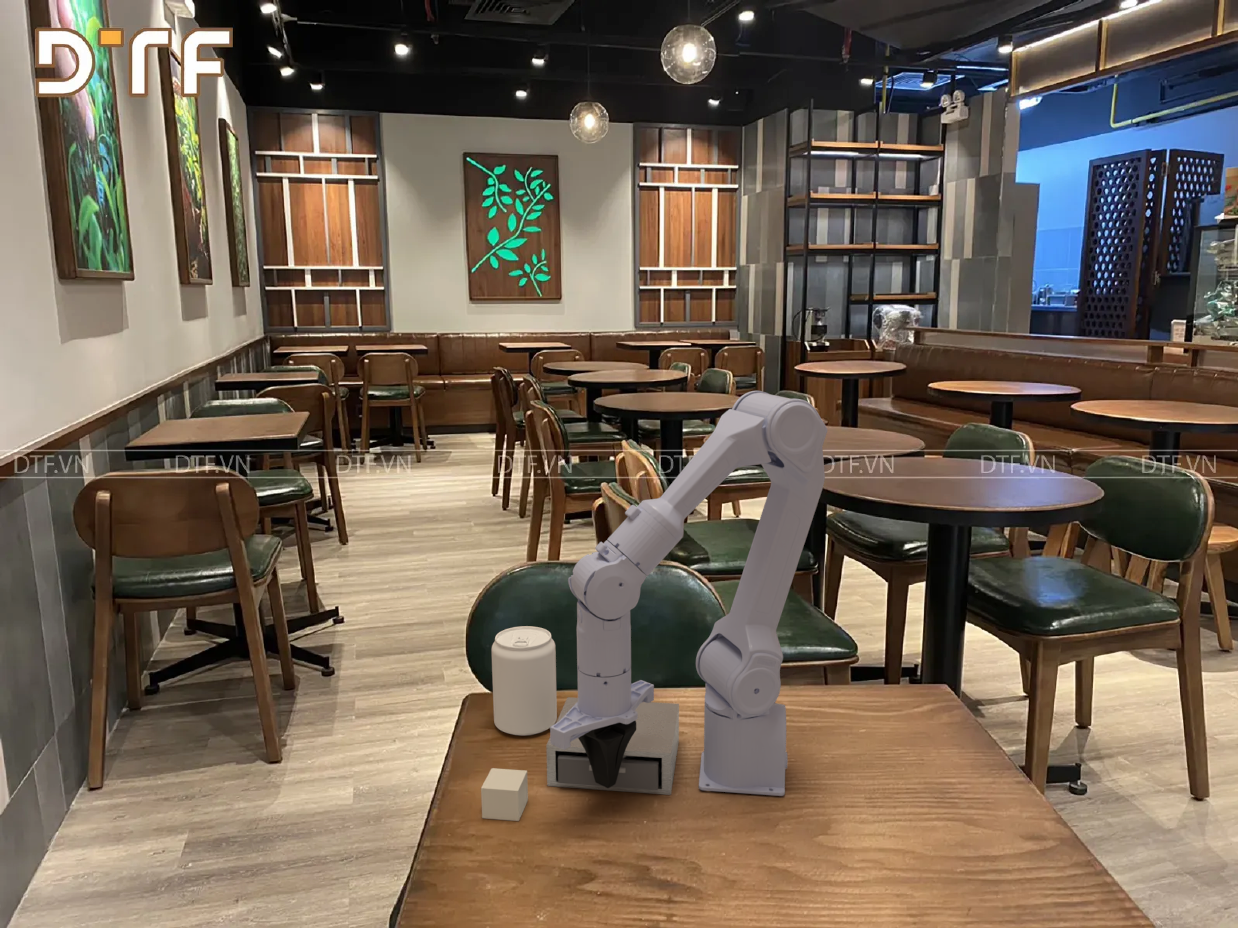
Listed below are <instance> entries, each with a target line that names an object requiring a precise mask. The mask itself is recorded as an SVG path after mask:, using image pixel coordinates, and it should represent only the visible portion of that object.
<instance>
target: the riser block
mask: <svg viewBox="0 0 1238 928" xmlns="http://www.w3.org/2000/svg"><path fill="white" fill-rule="evenodd" d="M528 788H529V787H528V770H523V769H508V768H496V767H495V768H494V767H492V768H490V770H489V772H488V775H487V776H486V778H485V780H484V782H483V784H482V785H481V788H480V795H481V818H482V819H485V820H486V819H489V820H499V821H500V820H501V821H512V822H513V821H515V822H520V819H521V817H522V815H523V813H524V811H525V808H526V805H527V804H528V801H529V790H528Z"/></svg>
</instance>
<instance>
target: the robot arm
mask: <svg viewBox="0 0 1238 928" xmlns="http://www.w3.org/2000/svg"><path fill="white" fill-rule="evenodd" d="M828 431H829V430H828V427H827V426H826V424H825V422H824V421H823V419H822V418H821V416H820V414H819V413H818V411H817V409H816V408H815V407H814V406H813V405H812V404H811V403H810V402H808V401H807V400H805V399H799V398H788V397H784V396H781V395H780V396H779V395H776V394H775V395H774V394H770V393H768V392H765V391H761V390H752V391H748V392H746V393H744V394H743V395H742V394H741V396H740V397H738V399H737V400H736V401H735V403H734V404H733V406H732V408H729V409H728V410H726V411H725V412H724V413H723V414H722V415H721V416H720V419H719V420H718V421H717V424H716V426H715V428H714V431H713V432H712V433H711V434H710V436H709V437H708V439H706V441H705V442H704V443H703V444H702V446H701V447H699V449H698V451H696V453H695V454H694V455H693V457H692V458H691V459H690V461H689V462H688V463H687V464H686V466H684V468H683V469H682V470H681V471H680V473H678V475H677V476H676V477H675V478H674V480H673V481H672V483H671V484H670V485H669V486H668V487H667V489H665V491H664V492H663V494H662V495H660V497H658V498H652V499H644V500H641V502H640V503H639V504H638V505H637V506H636V505H635V504H631V505H630V506H629V507H628V508H627V510H626V511H625V512H624V514H625V516H627V517H626V518H625V519H624V521H622V522H621V524H620V525H619V526H618V527H617V528H616V529H615V530H614V531H613V532H612V533H611V534H610V535H609V537H608V538H607V540H605V541H604V542H602V541H599V543H597V545H596V546H595V548H594V550H595V552H591V554H586V555H584V556H583V557H581V558H580V559H578V561H577V562H576V564H575V565H574V567H573V569H572V575H570V577H568V579H567V583H568V587H569V589H570V591H571V594H573V596H574V597H575V598H576V599H577V602H576V618H577V619H576V620H577V622H576V659H577V660H576V663H577V664H576V665H577V666H576V667H577V669H576V670H577V698H578V702H577V703H576V704H575V705H574V706H573V707H572V708H571V709H570V710H569V711H568V712H567V713H566V715H565V716H564V717H563V718H562V719H561V720H560V721H559V722H557V721H556V722H557V723H556V722H555V724H554V725H553V726H551V727H550V728H549V730H550V731H549V732H550V733H549V734H550V736H549V738H550V739H551V744H552V745H554V746H556V747H558V748H561V749H563V750H565V749H567V748H569V747H570V746H571V744H570V742H571V741H573V740H575V739H577V738H578V739H579V740H580V742H581V744H582V745H583V747H584V749H585V751H586V754H587V756H588V759H589V762H590V765H591V768H592V772H593V775H594V779H595V782H596V783H598V784H600V785H602V786H604V787H606V788H610V787H612V786H613V785H615V784H616V781H617V777H618V773H619V769H620V765H621V762H622V758H623V755H624V752H625V750H626V747H627V745H628V743H629V741H630V739H631V737H632V736H633V734H634V733H635V731H636V721H635V720H636V719H637V718H638V713H637V712H636V711H635V710H636V709H637V707H638V706H639V705H640V703H642V702H645V703H650V702H654V701H655V685H654V684H652V683H650V682H647V681H645V680H642V679H639V680H637V681H635V682H633V683H632V641H631V640H632V638H631V637H632V630H631V629H632V625H631V610H633V609H634V608H635V607H637V605H638V602H639V600H640V597H641V596H640V595H641V587H642V584H644V582H645V581H646V580H645V579H646V578H647V577H648V576H649V575H650V574H651V573H652V572H653V571H654V570H655V568H657V567H658V565H659V564H660V563H661V562H662V561H663V560H664V559H665V558H666V556H668V555H669V553H670V552H671V551H672V550H673V549H674V547H676V546H677V545H678V543H679V542H680V541H681V540H682V539H683V538H684V530H685V528H684V527H685V525H684V522H685V519H686V518H687V517H688V516H689V515H690V514H691V513H693V511H694V510H695V509H696V508H698V506H699V505H700V504H701V503H702V502H704V500H705V499H706V498H707V497H708V496H709V495H711V494H712V492H713V491H715V490H716V488H718V487H719V486H720V484H722V483H723V481H724V480H725V479H727V478H728V477H729V475H731V474H732V473H733V472H734V471H735V470H736V469H738V468H741V467H749V466H756V465H761V466H762V468H763V470H764V471H765V474H766V475H767V476H768V479H769V480H770V488H769V490H768V493H767V496H766V499H765V502H764V506H763V508H762V512H761V514H760V518H759V521H758V524H757V526H756V531H755V533H754V536H753V539H752V543H751V546H750V548H749V552H748V555H747V558H746V561H745V564H744V567H743V571H742V574H741V576H740V580H739V582H738V585H737V589H736V592H735V595H734V598H733V601H732V605H731V608H730V610H729V613H727V614H726V615H725V616H722V617H721V618H720V619H718V620H717V621H715V622H714V624H713V627H712V631H711V633H710V635H709V637H708V638H707V639H706V640H705V641H704V642H703V644H702V645H701V646H700V648H699V649H698V651H697V654H696V658H695V668H696V671H697V672H696V673H697V674H698V675H699V678H701V680H703V682H705V689H704V690H705V695H704V708H703V709H704V711H703V712H704V714H703V717H704V720H703V721H704V722H703V723H704V725H703V730H704V731H703V751H702V752H701V758H700V767H699V777H698V778H699V779H698V789H699V790H700V791H705V792H706V791H710V792H719V793H720V792H723V793H724V792H725V793H733V794H734V793H737V794H751V795H762V796H763V795H764V796H765V795H766V796H776V797H777V796H779V797H783V796H785V794H786V789H785V788H786V783H785V782H786V769H788V752H787V710H786V709H787V708H786V705H785V704H782V703H777V702H776V701H777V699H778V698H779V696H780V693H781V692H780V691H781V688H782V686H781V685H782V683H781V676H780V675H781V673H780V672H781V671H780V670H781V667H782V664H783V660H784V654H783V650H782V647H781V645H780V640H779V637H778V634H777V628H778V625H779V622H780V619H781V617H782V612H783V611H784V607H785V604H786V600H787V598H788V595H789V592H790V588H791V585H792V583H793V579H794V576H795V573H796V571H797V567H798V564H799V562H800V558H801V555H802V552H803V549H804V545H805V543H806V540H807V537H808V534H809V531H810V528H811V525H812V521H813V518H814V515H815V512H816V510H817V507H818V503H819V499H820V498H821V494H822V491H823V488H824V485H825V479H826V472H825V463H824V462H825V461H824V450H823V446H824V443H825V440H826V437H827V435H828Z"/></svg>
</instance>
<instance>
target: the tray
mask: <svg viewBox="0 0 1238 928" xmlns="http://www.w3.org/2000/svg"><path fill="white" fill-rule="evenodd" d="M661 768H662V758H657V757H642V756H638V757H637V759H636V760H629V759H622V762H621V765H620V769H619V773H618V777H617V781H616V784H615V785H613V786H612V787H620V788H634V789H648V790H658V786H659V780H660V774H661ZM558 783H565V784H579V785H592V786H602V785H600V784H598V783H596V782H595V779H594V775H593V772H592V768H591V765H590V762H589V759H588V756H587V754H586V753H582V752H567V751H566V752H565V754H564V755H559V757H558Z"/></svg>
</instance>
